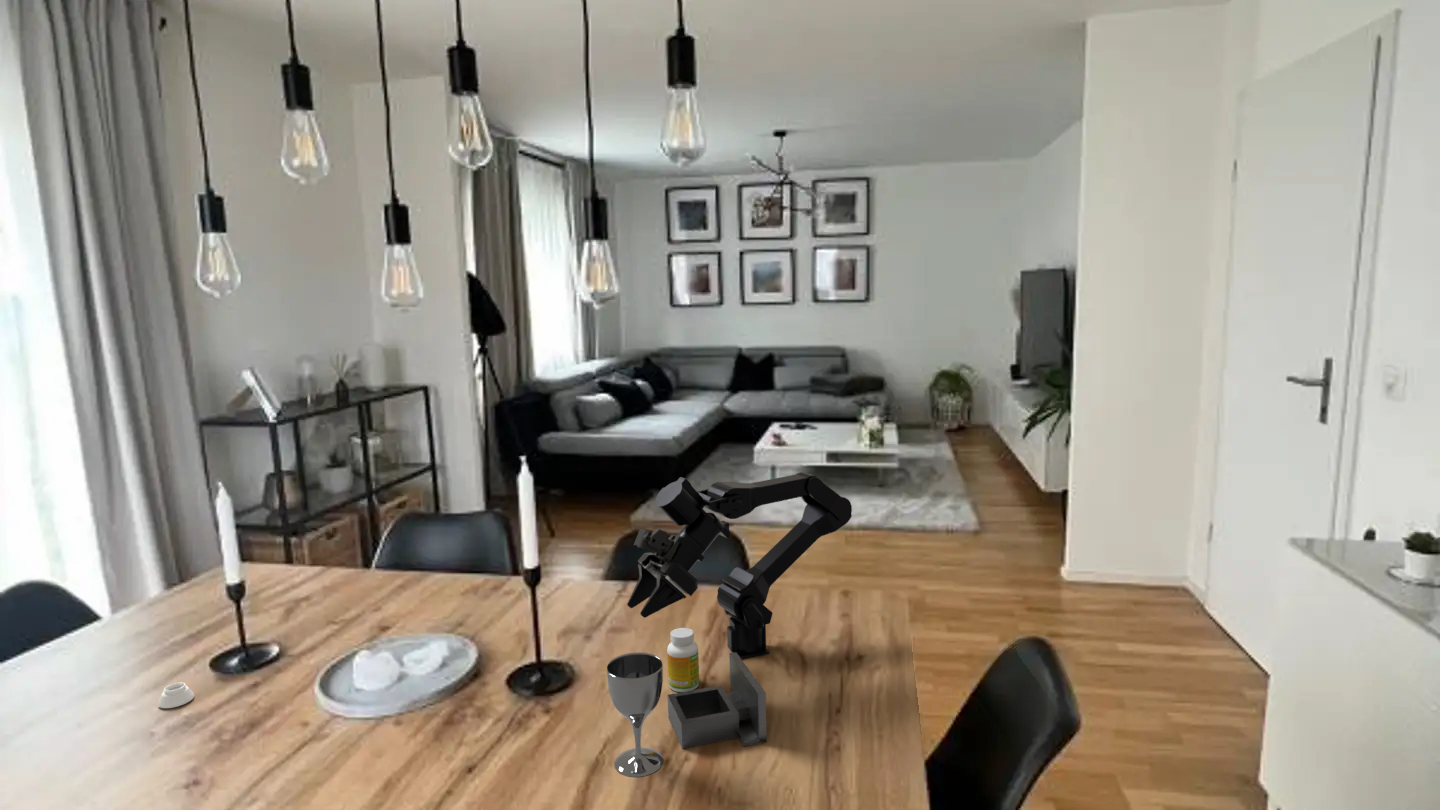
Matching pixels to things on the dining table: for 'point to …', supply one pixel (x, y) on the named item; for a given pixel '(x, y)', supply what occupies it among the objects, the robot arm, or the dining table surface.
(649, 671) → the wine glass
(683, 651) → the supplement bottle
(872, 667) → the dining table surface
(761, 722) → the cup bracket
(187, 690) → the white upside-down bowl
